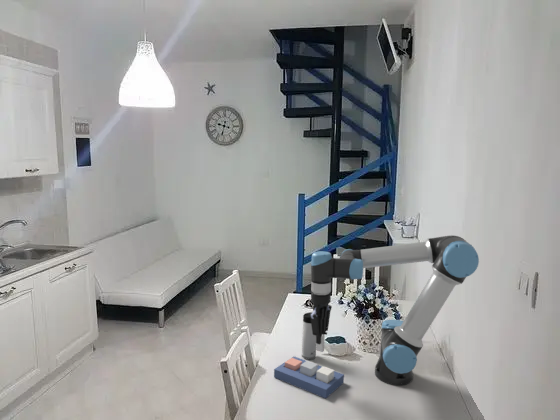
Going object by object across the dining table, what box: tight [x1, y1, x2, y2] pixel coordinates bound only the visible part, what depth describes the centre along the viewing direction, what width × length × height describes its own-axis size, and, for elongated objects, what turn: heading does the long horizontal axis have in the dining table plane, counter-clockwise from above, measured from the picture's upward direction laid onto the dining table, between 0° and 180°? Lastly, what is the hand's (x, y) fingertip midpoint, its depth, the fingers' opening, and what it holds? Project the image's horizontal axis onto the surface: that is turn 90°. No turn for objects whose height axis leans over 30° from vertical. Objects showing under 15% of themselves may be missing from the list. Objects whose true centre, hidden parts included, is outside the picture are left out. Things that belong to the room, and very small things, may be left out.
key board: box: [273, 356, 345, 399], centre depth 171 cm, size 24×14×4 cm, turn 54°
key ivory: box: [316, 365, 335, 384], centre depth 166 cm, size 5×5×4 cm
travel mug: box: [301, 311, 317, 361], centre depth 190 cm, size 6×7×20 cm
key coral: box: [284, 357, 302, 371], centre depth 175 cm, size 5×5×4 cm
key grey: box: [300, 360, 318, 377], centre depth 171 cm, size 5×5×4 cm
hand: (320, 350), depth 167 cm, fingers closed
